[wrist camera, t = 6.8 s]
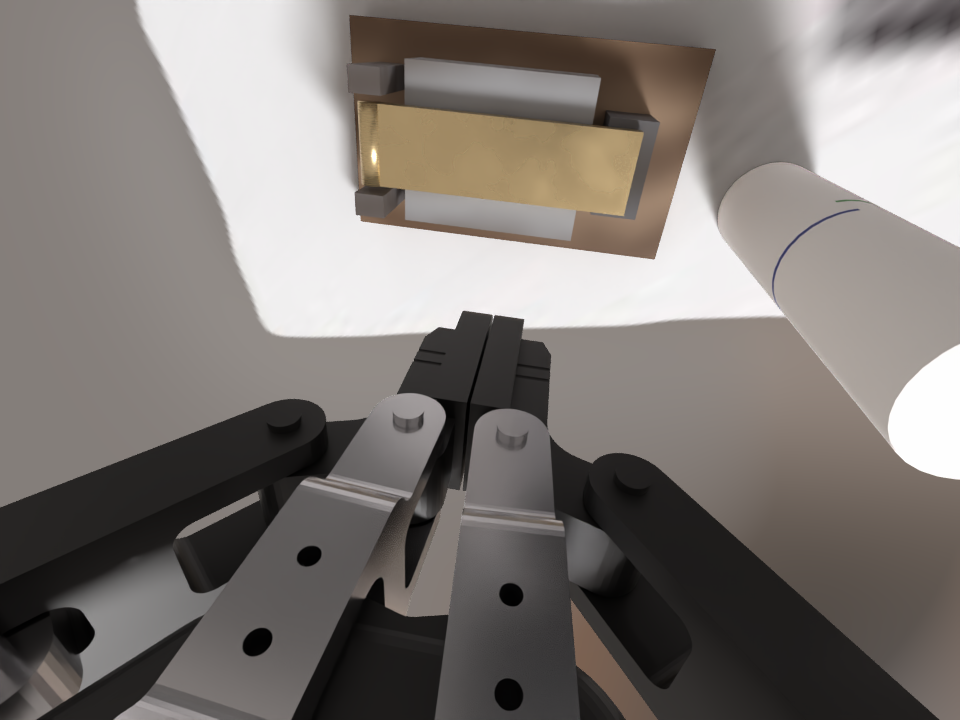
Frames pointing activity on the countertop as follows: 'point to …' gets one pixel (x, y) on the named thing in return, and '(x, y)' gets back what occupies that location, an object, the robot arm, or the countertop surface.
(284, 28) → the countertop surface
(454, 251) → the countertop surface
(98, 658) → the robot arm
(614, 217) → the stand
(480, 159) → the plate
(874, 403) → the cylindrical container
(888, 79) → the countertop surface
